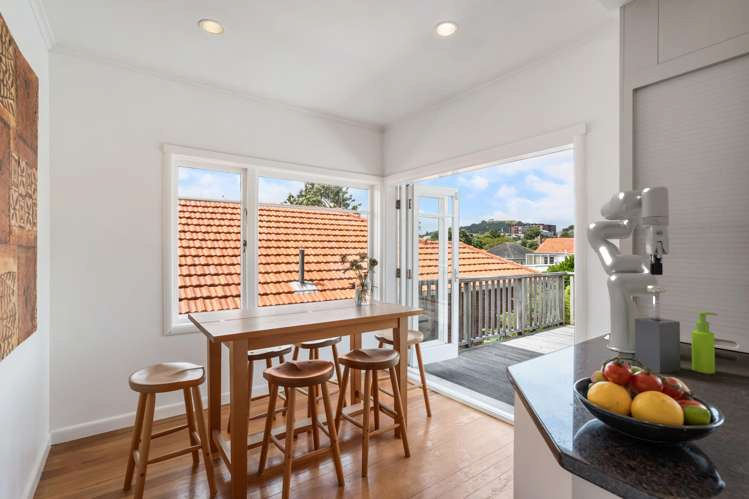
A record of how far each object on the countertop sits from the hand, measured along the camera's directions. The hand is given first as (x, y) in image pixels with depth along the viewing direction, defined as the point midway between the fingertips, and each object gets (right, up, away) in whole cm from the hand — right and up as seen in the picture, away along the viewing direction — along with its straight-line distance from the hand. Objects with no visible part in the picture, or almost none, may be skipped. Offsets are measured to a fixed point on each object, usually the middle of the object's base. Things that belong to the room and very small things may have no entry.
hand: (656, 274), depth 131 cm
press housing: (+1, -33, 0) cm, 33 cm away
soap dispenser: (+14, -33, -3) cm, 36 cm away
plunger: (+1, -23, 0) cm, 23 cm away
